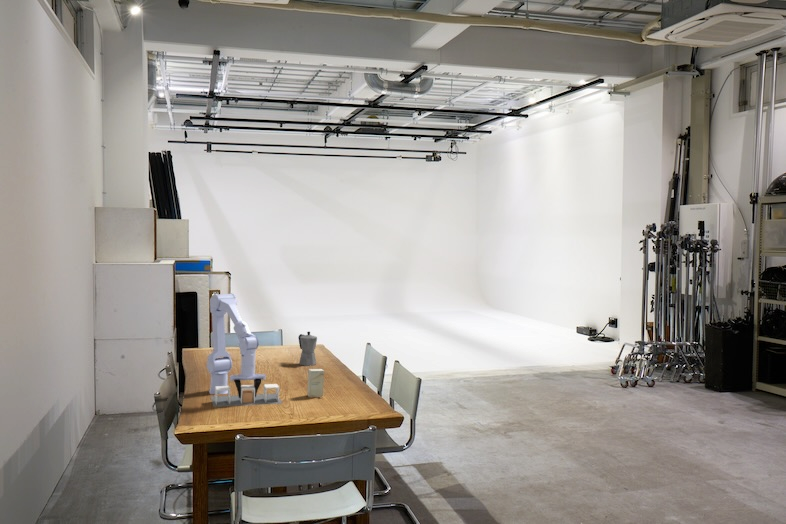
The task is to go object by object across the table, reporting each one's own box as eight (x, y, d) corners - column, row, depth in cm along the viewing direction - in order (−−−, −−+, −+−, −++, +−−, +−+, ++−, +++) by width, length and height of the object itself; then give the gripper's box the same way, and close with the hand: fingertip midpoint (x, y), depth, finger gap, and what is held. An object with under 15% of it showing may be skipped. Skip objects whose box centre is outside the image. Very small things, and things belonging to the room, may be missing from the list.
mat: (210, 397, 283) (210, 396, 283) (276, 394, 292) (276, 393, 292) (213, 408, 267) (213, 406, 267) (282, 404, 276) (282, 403, 276)
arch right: (263, 398, 282) (263, 384, 282) (276, 398, 284) (276, 383, 284) (265, 402, 277) (265, 387, 276) (278, 401, 279) (279, 387, 278)
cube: (241, 400, 278) (241, 391, 278) (251, 399, 280) (251, 390, 280) (242, 402, 275) (243, 393, 274) (252, 402, 276) (252, 392, 276)
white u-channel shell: (239, 399, 279) (239, 385, 279) (252, 399, 281) (253, 384, 281) (241, 403, 273) (241, 388, 273) (254, 402, 275) (255, 388, 275)
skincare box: (309, 398, 288) (310, 371, 287) (307, 396, 292) (307, 369, 291) (323, 397, 290) (324, 370, 289) (320, 395, 294) (321, 368, 294)
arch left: (214, 401, 276) (215, 386, 276) (228, 400, 278) (229, 385, 277) (216, 404, 270) (216, 389, 270) (230, 404, 272) (230, 389, 272)
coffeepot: (322, 365, 360) (323, 332, 359) (308, 367, 354) (309, 333, 353) (305, 360, 371) (306, 328, 370) (291, 362, 365) (292, 330, 364)
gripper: (231, 367, 270) (230, 400, 271) (266, 366, 275) (266, 398, 276) (229, 364, 277) (228, 396, 278) (264, 362, 282) (263, 394, 282)
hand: (247, 397), depth 277 cm, fingers closed on white u-channel shell, 6 cm apart
